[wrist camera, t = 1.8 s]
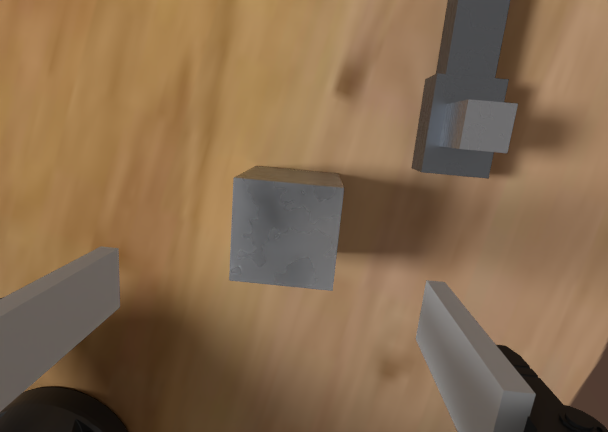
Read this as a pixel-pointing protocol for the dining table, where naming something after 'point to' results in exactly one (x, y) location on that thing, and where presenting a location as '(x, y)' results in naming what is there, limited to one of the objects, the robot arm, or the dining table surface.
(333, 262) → the grey stone cube
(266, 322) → the dining table surface
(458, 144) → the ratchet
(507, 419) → the robot arm
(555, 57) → the dining table surface
